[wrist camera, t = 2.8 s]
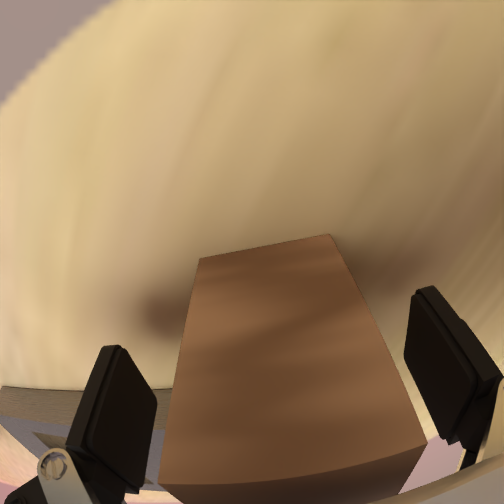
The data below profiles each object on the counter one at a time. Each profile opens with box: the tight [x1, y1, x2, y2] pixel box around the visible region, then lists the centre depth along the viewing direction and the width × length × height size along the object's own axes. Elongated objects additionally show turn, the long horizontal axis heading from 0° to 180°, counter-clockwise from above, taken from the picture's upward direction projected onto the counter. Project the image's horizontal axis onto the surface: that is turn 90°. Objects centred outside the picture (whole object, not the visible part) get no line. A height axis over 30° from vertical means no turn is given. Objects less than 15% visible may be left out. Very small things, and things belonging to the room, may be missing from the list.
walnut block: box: [157, 234, 428, 504], centre depth 9 cm, size 5×5×8 cm
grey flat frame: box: [0, 386, 172, 492], centre depth 16 cm, size 23×9×2 cm, turn 101°
